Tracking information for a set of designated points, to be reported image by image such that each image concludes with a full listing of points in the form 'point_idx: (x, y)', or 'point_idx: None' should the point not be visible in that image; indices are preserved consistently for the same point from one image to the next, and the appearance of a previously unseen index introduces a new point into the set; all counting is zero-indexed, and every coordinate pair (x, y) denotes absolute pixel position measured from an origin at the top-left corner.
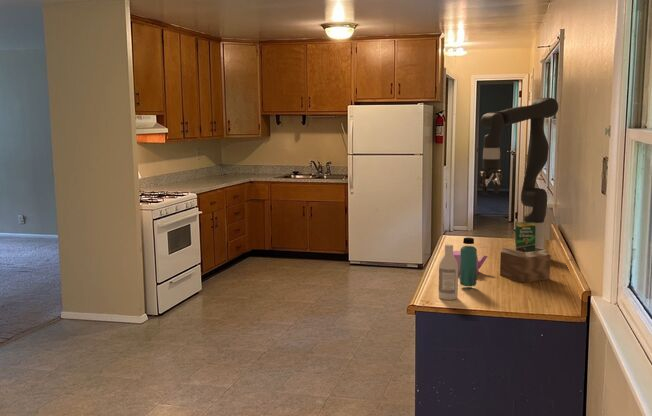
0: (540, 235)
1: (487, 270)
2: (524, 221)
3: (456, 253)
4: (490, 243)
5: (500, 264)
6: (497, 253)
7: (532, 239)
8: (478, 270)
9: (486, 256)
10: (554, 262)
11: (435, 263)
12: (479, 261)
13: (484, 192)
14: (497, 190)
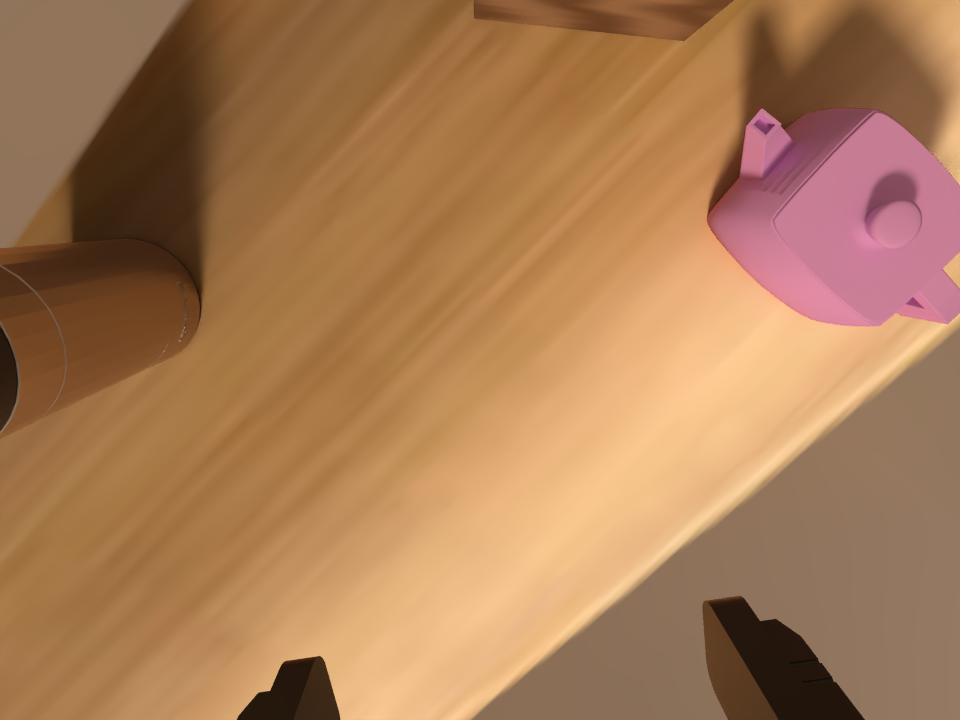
0: (7, 249)
1: (648, 183)
2: (8, 413)
3: (935, 248)
4: (113, 694)
5: (712, 15)
6: (261, 488)
7: None
8: (804, 115)
9: (765, 113)
10: (108, 114)
11: (756, 474)
12: (783, 148)
13: (796, 639)
14: (305, 703)
